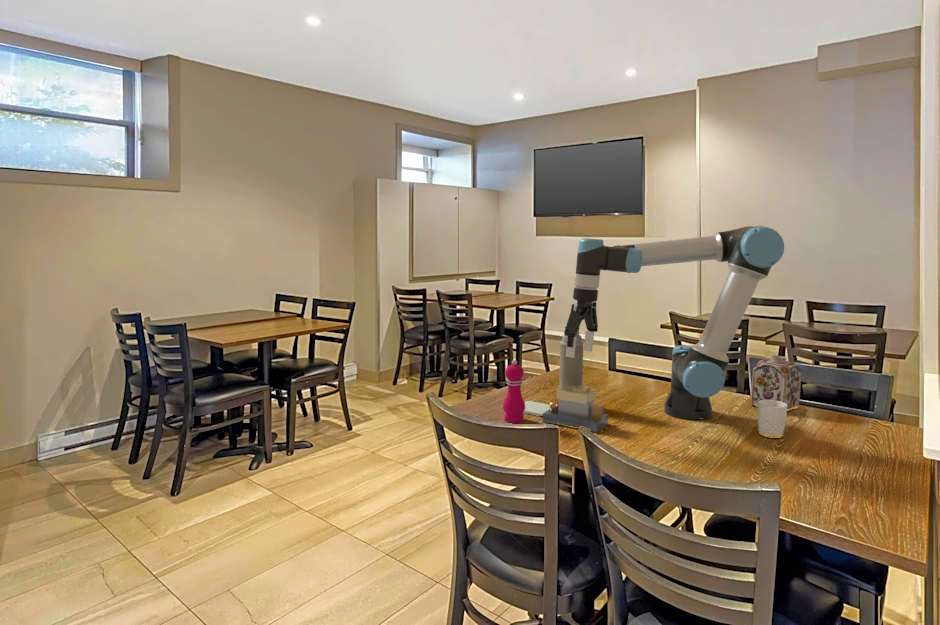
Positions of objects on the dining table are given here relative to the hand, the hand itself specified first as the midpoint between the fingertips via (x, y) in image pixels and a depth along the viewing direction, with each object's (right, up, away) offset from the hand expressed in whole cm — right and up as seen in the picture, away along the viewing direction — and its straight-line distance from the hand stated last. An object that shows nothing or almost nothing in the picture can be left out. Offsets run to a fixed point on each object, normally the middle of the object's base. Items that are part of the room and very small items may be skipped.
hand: (579, 354), depth 188 cm
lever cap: (-1, -14, 0) cm, 14 cm away
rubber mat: (-13, -20, +14) cm, 28 cm away
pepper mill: (-21, -22, +4) cm, 30 cm away
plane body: (-1, -22, +1) cm, 22 cm away
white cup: (+56, -24, -10) cm, 62 cm away
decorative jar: (+71, -20, +17) cm, 76 cm away
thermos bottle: (+1, -20, +20) cm, 28 cm away
